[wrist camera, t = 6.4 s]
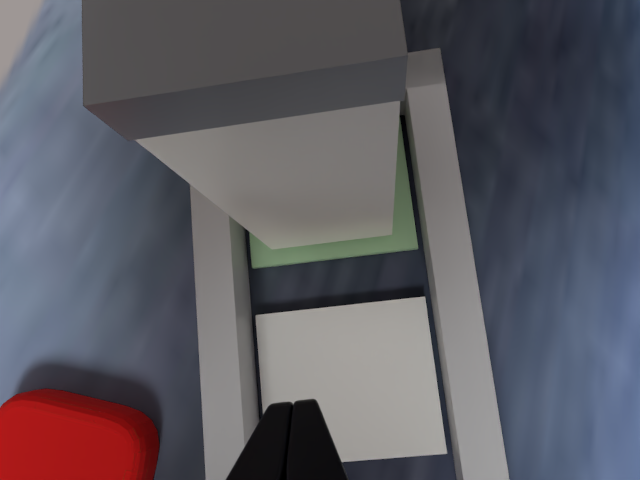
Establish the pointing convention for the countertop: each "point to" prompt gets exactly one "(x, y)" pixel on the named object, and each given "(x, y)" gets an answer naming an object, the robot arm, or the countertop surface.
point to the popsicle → (74, 439)
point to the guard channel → (358, 322)
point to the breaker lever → (260, 105)
